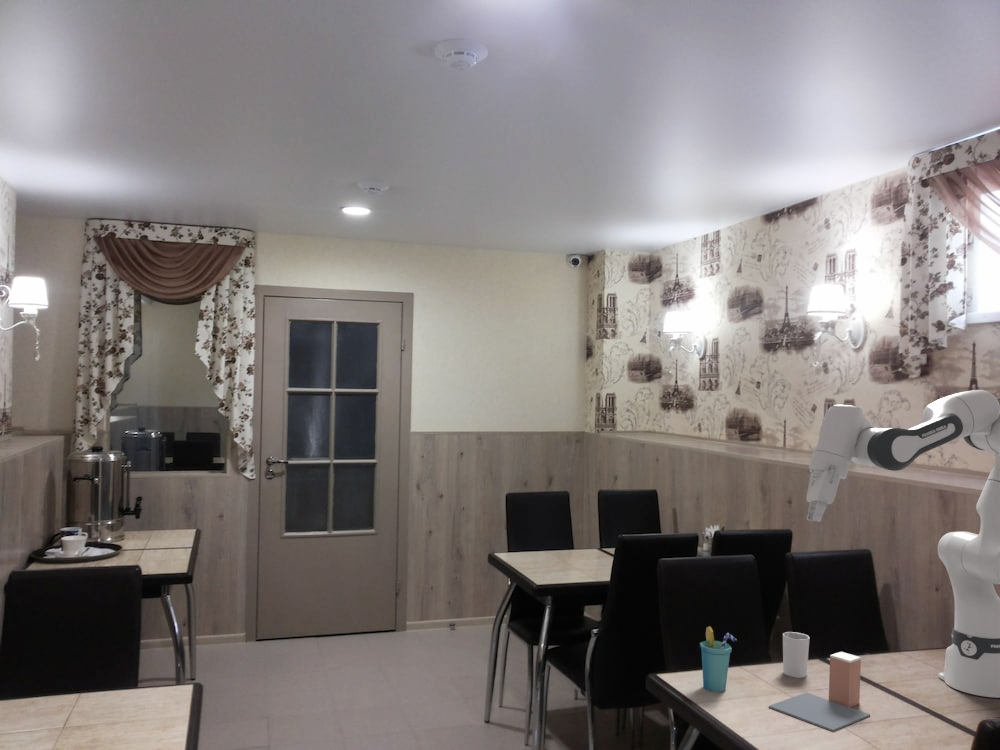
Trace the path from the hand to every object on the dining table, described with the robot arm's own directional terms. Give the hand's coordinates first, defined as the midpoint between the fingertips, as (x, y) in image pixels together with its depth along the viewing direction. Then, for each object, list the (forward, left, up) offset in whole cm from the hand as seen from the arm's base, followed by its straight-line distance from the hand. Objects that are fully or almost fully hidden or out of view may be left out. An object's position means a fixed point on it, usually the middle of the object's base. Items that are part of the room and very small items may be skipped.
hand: (813, 521), depth 199 cm
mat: (+7, +7, -43) cm, 44 cm away
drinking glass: (-12, -11, -43) cm, 46 cm away
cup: (+16, -15, -43) cm, 48 cm away
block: (-4, +7, -43) cm, 43 cm away
